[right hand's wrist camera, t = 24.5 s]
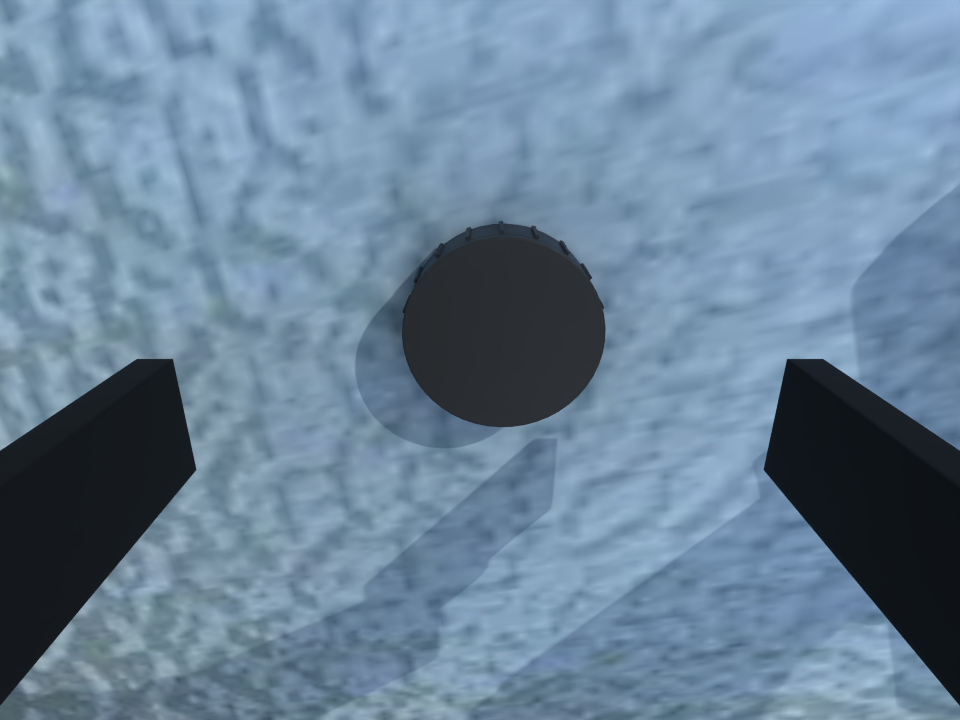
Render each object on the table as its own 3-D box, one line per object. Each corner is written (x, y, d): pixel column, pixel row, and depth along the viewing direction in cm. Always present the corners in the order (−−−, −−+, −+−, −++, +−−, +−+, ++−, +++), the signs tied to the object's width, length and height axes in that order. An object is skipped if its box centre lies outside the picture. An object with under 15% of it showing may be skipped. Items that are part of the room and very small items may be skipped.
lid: (423, 406, 18) (415, 438, 17) (394, 231, 16) (382, 246, 14) (598, 391, 18) (609, 420, 16) (592, 210, 16) (604, 222, 14)
